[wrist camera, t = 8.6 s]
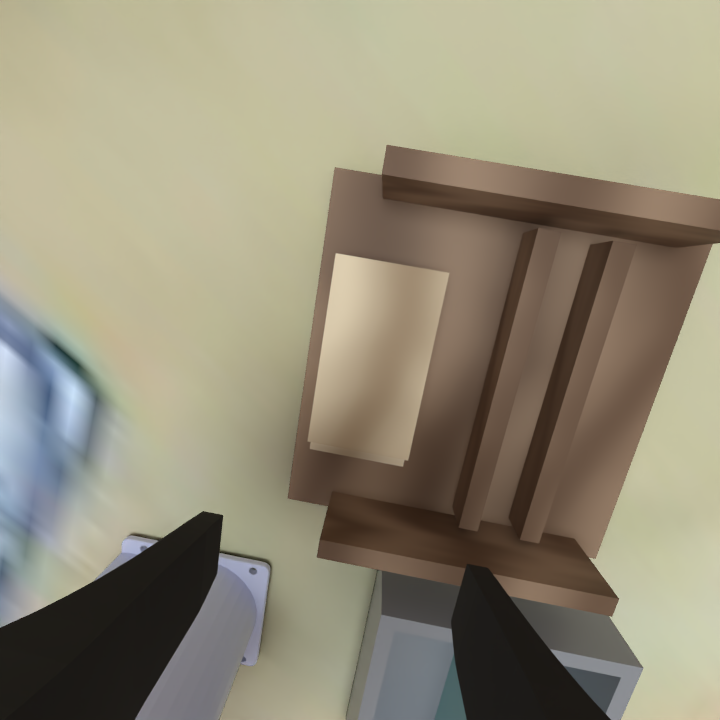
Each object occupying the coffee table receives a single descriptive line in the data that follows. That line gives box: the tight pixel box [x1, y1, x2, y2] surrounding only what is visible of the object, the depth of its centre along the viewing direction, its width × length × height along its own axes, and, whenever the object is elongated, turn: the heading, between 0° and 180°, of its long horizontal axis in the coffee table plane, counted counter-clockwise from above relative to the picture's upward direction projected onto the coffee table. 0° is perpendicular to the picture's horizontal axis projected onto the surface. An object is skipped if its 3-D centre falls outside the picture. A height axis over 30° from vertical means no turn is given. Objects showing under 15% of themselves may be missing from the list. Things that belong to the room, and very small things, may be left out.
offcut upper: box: [308, 253, 449, 461], centre depth 17 cm, size 5×9×1 cm, turn 170°
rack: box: [288, 145, 720, 616], centre depth 17 cm, size 18×18×5 cm
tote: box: [346, 570, 643, 720], centre depth 21 cm, size 13×14×4 cm
